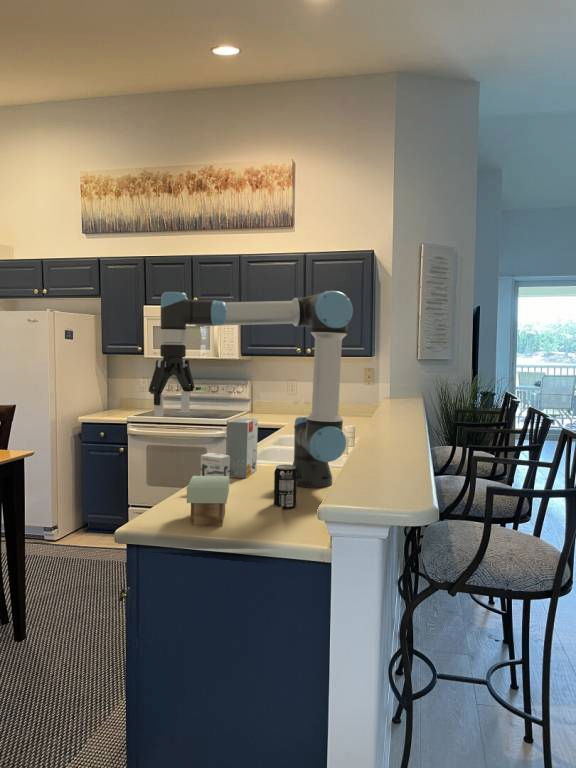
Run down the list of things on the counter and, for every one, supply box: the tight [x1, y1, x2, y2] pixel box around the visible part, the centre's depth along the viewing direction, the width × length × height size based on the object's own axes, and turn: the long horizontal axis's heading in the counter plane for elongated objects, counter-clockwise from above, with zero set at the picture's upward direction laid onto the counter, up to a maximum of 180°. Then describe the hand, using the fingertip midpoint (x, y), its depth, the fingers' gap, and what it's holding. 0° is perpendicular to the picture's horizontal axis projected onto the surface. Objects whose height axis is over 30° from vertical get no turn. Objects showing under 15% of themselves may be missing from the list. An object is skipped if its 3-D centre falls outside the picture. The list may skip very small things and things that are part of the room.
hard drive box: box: [226, 417, 259, 479], centre depth 228 cm, size 16×8×20 cm, turn 168°
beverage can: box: [273, 464, 298, 510], centre depth 183 cm, size 7×7×12 cm
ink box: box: [199, 452, 230, 476], centre depth 201 cm, size 9×5×12 cm, turn 62°
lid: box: [186, 475, 230, 504], centre depth 165 cm, size 10×14×5 cm
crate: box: [190, 503, 226, 528], centre depth 166 cm, size 8×13×7 cm, turn 3°
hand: (172, 414), depth 189 cm, fingers open, 13 cm apart
